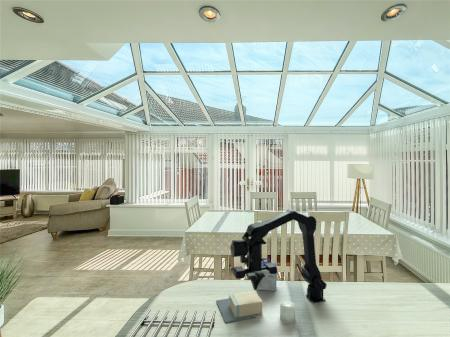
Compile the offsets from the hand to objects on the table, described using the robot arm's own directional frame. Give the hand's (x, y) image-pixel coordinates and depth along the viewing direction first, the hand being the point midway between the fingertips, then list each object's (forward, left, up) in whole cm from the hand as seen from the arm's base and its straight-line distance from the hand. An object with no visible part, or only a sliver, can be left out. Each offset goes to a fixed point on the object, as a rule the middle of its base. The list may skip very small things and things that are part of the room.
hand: (254, 289), depth 113 cm
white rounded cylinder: (-10, +11, -9) cm, 17 cm away
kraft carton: (-2, 0, -6) cm, 6 cm away
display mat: (+8, -2, -8) cm, 12 cm away
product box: (-12, -15, -9) cm, 21 cm away
